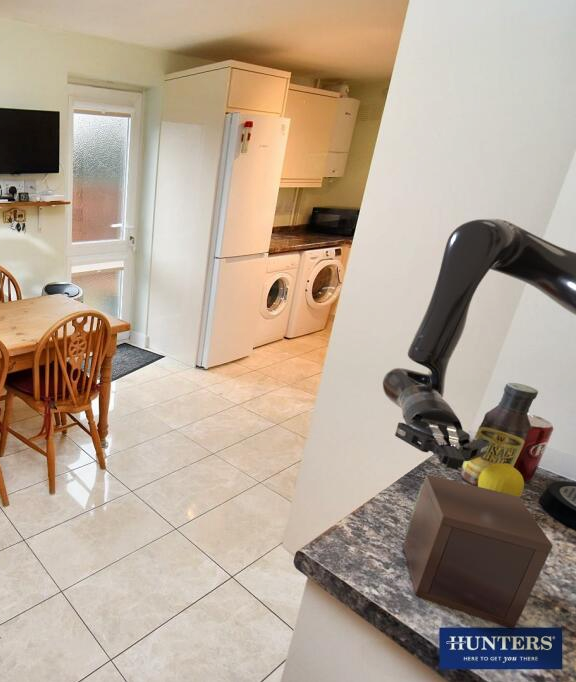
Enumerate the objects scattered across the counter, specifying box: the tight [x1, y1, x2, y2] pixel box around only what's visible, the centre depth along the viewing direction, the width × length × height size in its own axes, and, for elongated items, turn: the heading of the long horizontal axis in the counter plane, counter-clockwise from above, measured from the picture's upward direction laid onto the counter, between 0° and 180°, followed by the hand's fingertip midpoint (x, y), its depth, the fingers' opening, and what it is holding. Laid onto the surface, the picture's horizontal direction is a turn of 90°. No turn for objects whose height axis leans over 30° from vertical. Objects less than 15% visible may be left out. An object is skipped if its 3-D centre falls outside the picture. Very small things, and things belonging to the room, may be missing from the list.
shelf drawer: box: [405, 482, 424, 536], centre depth 61 cm, size 11×10×10 cm
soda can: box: [513, 412, 554, 484], centre depth 85 cm, size 7×7×12 cm
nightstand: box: [402, 473, 554, 630], centre depth 59 cm, size 10×10×13 cm
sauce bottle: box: [460, 382, 539, 487], centre depth 81 cm, size 6×6×20 cm
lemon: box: [477, 463, 525, 498], centre depth 77 cm, size 6×6×8 cm
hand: (453, 463), depth 69 cm, fingers closed
